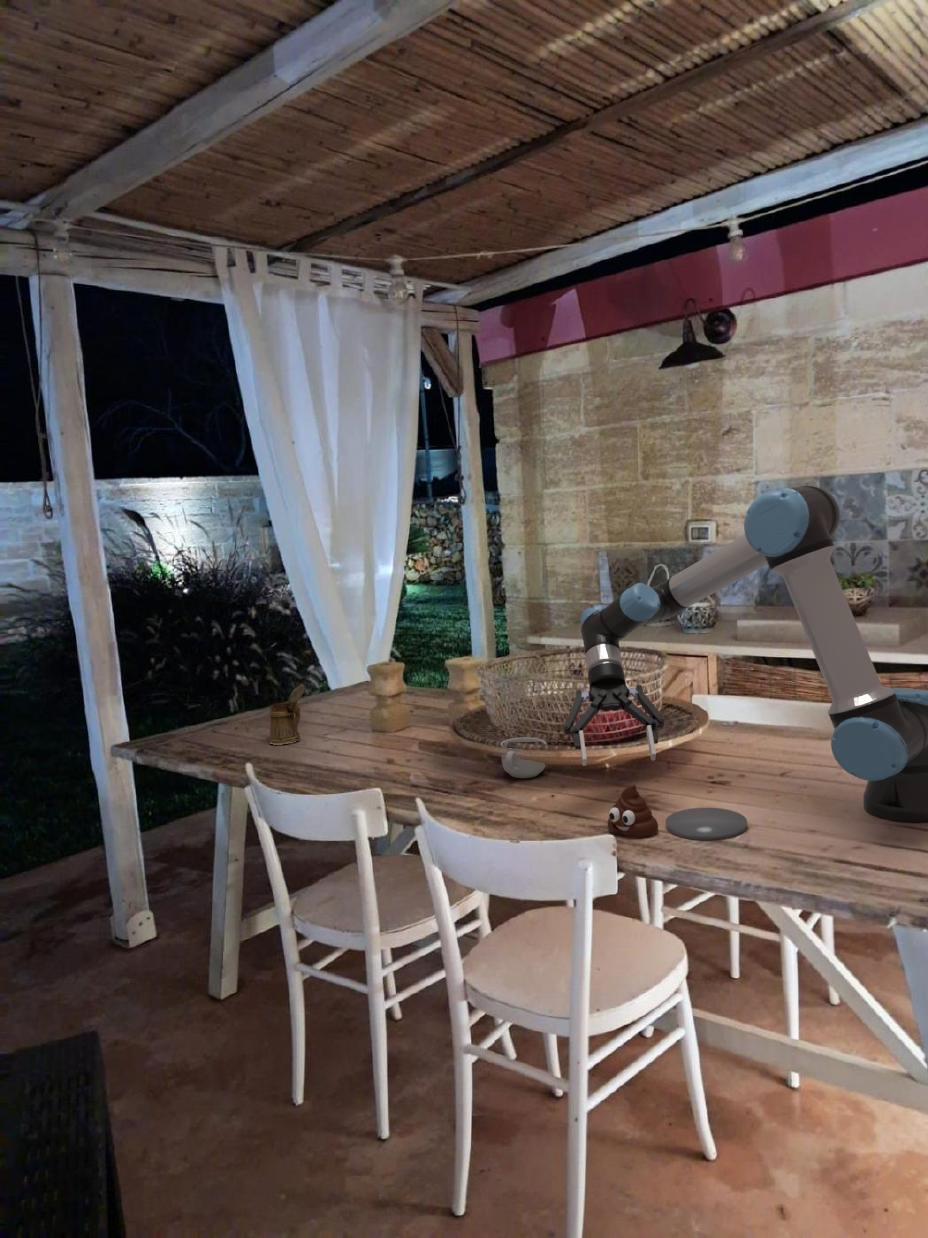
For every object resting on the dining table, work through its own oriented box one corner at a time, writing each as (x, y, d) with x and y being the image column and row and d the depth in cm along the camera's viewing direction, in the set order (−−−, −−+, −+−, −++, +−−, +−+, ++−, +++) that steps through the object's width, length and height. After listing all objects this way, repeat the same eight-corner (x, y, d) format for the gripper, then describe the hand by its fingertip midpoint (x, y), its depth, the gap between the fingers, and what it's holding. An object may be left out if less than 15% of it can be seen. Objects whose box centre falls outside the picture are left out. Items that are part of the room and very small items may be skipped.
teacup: (520, 766, 227) (517, 734, 226) (557, 771, 220) (554, 738, 219) (485, 782, 216) (482, 749, 215) (523, 788, 209) (520, 753, 208)
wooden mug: (299, 747, 266) (291, 686, 263) (263, 745, 272) (256, 685, 270) (318, 739, 273) (311, 679, 271) (283, 737, 280) (276, 679, 278)
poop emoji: (667, 829, 176) (664, 782, 175) (641, 844, 170) (638, 795, 169) (624, 820, 183) (620, 774, 182) (597, 833, 177) (594, 786, 176)
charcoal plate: (735, 809, 183) (735, 805, 183) (756, 837, 168) (756, 831, 168) (659, 815, 184) (659, 810, 184) (673, 843, 169) (673, 838, 169)
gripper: (663, 676, 198) (680, 764, 185) (546, 685, 199) (556, 773, 186) (666, 656, 192) (684, 745, 179) (546, 665, 194) (555, 755, 181)
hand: (619, 760), depth 183 cm, fingers open, 13 cm apart
